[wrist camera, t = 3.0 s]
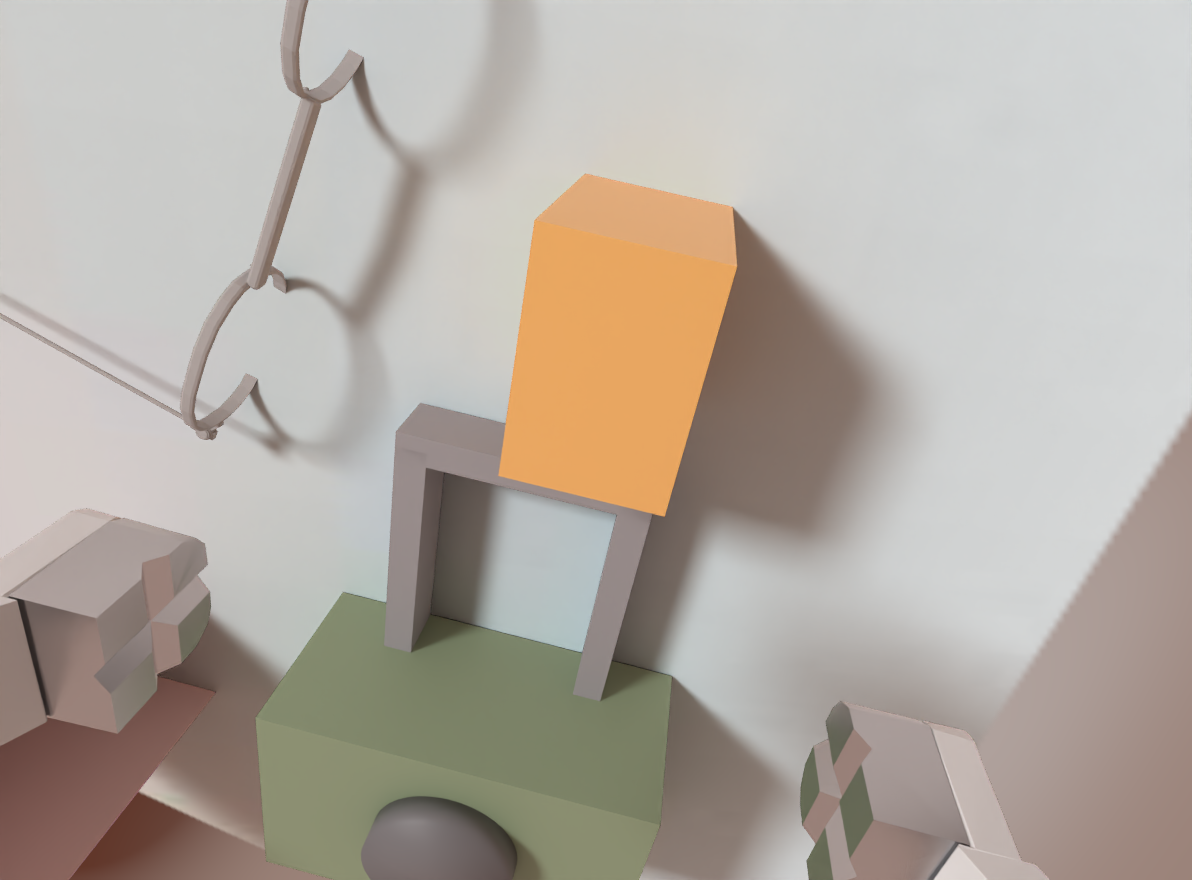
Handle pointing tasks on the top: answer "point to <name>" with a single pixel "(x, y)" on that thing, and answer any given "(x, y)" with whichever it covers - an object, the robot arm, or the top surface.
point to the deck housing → (463, 715)
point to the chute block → (616, 340)
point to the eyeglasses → (269, 232)
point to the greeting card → (82, 781)
